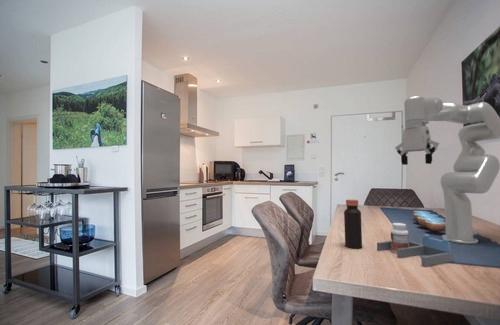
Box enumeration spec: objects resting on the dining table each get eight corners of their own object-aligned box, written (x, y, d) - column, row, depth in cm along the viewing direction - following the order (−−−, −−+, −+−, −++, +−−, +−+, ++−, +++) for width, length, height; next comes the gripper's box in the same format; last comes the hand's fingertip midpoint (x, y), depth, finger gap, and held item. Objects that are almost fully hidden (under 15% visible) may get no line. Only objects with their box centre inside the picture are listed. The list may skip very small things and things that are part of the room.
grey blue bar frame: (402, 246, 104) (402, 228, 105) (453, 261, 86) (452, 239, 86) (377, 250, 99) (376, 231, 100) (425, 266, 81) (424, 244, 81)
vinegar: (365, 249, 101) (363, 200, 102) (348, 249, 101) (347, 201, 102) (358, 244, 108) (356, 199, 109) (342, 244, 108) (341, 199, 109)
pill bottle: (394, 248, 101) (393, 221, 102) (411, 252, 96) (410, 224, 97) (388, 251, 97) (387, 223, 98) (406, 255, 92) (404, 226, 93)
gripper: (442, 122, 100) (444, 163, 99) (400, 129, 116) (401, 165, 115) (432, 120, 97) (434, 163, 96) (390, 127, 112) (391, 164, 111)
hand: (416, 164), depth 105 cm, fingers open, 9 cm apart
